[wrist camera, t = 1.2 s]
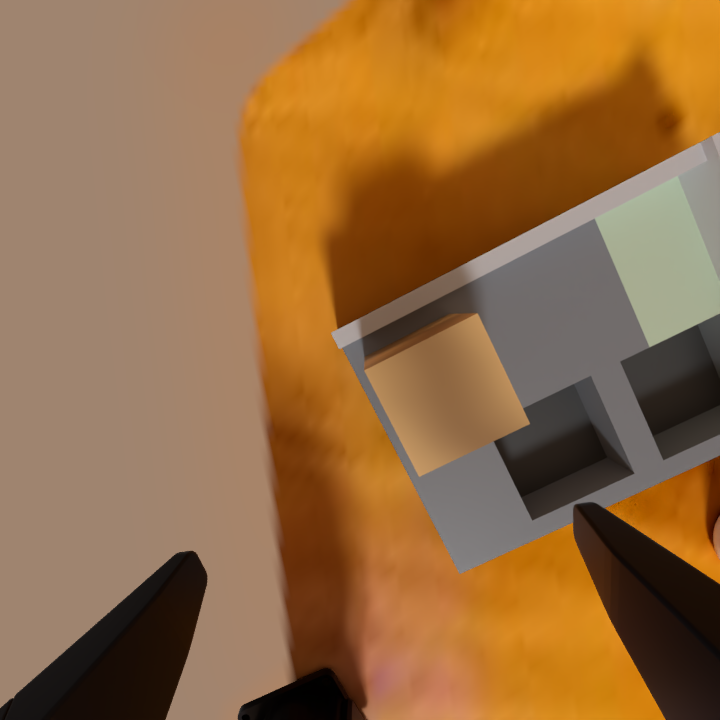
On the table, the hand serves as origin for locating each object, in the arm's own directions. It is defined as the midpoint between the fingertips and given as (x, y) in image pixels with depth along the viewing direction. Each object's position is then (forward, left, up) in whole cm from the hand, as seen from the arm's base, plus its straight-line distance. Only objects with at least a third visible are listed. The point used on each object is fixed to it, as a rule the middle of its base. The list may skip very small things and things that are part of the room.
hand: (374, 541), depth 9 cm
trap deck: (+10, -2, -12) cm, 16 cm away
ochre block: (+4, +1, -10) cm, 10 cm away
